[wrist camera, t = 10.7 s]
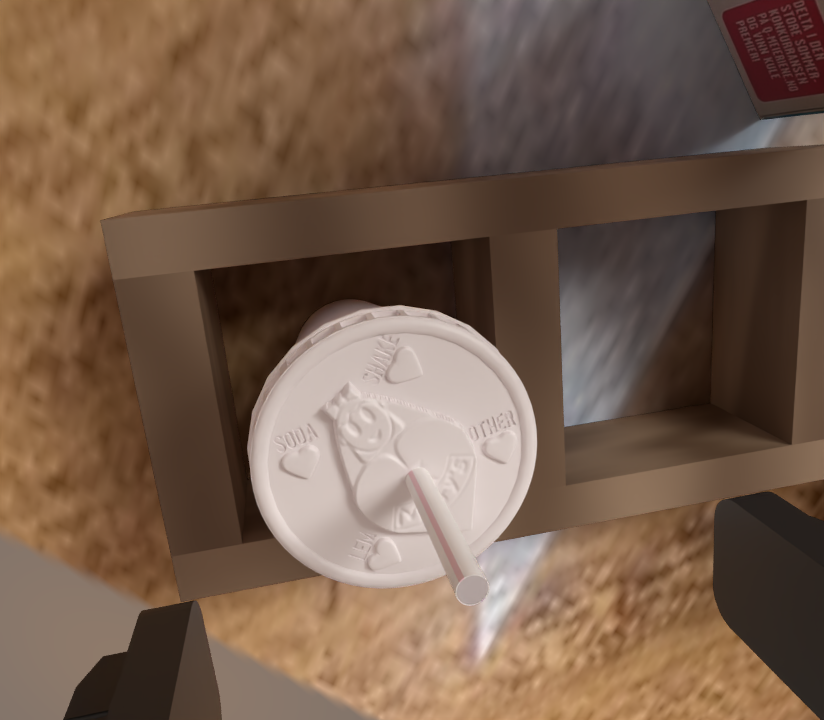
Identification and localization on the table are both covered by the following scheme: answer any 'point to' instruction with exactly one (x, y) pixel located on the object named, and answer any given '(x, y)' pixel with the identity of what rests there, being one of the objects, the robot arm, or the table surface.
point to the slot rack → (494, 338)
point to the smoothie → (391, 447)
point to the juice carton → (776, 52)
